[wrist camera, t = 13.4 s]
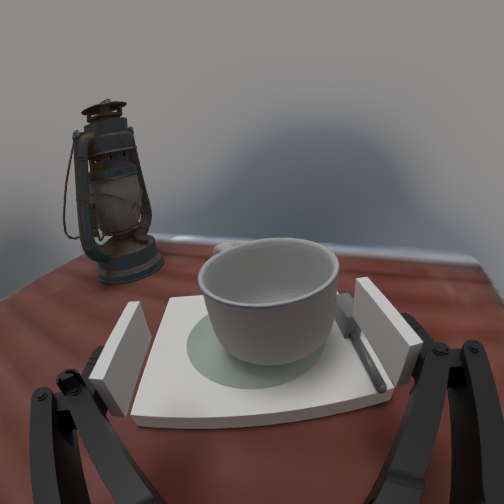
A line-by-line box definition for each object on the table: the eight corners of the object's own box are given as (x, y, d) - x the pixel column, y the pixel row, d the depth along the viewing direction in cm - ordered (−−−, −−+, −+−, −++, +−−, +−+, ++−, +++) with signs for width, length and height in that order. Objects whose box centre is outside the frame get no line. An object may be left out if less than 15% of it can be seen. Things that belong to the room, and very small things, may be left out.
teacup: (358, 352, 22) (369, 267, 19) (239, 405, 18) (222, 316, 15) (280, 287, 34) (276, 222, 31) (192, 312, 30) (178, 243, 27)
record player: (136, 429, 18) (117, 399, 16) (173, 308, 35) (166, 280, 33) (391, 403, 18) (404, 369, 16) (330, 292, 35) (331, 263, 33)
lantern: (126, 297, 38) (89, 85, 27) (68, 289, 41) (33, 117, 30) (183, 248, 55) (163, 95, 44) (127, 247, 59) (106, 113, 48)
